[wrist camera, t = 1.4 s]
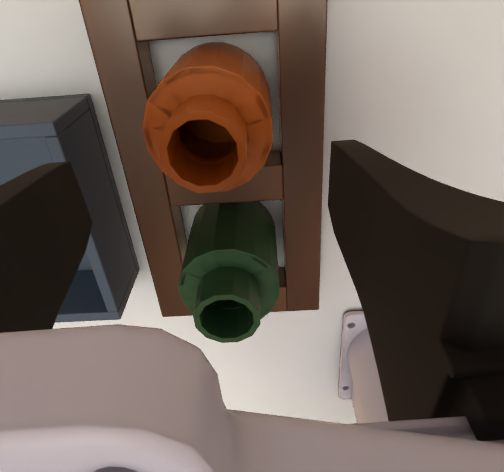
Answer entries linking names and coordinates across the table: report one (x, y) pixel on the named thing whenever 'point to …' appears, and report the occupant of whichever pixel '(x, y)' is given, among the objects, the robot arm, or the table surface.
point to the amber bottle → (210, 119)
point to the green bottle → (230, 270)
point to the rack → (278, 163)
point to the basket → (92, 187)
